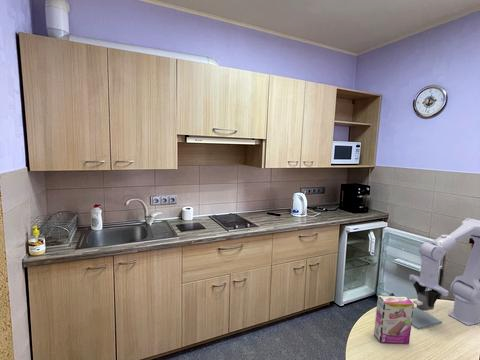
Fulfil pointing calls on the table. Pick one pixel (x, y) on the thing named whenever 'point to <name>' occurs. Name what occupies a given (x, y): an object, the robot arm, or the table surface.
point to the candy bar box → (393, 319)
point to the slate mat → (423, 319)
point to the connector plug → (423, 301)
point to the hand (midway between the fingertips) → (425, 303)
